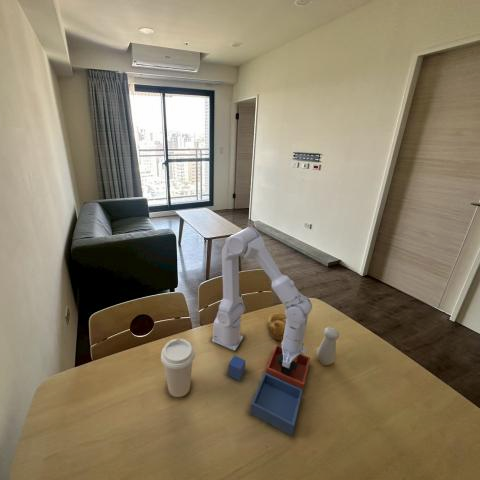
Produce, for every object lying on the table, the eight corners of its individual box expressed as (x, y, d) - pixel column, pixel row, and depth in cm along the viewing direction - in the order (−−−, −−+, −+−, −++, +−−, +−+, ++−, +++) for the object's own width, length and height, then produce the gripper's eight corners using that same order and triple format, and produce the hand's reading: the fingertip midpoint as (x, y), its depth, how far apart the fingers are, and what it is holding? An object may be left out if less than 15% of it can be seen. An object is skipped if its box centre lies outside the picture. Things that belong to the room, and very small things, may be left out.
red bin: (265, 377, 79) (266, 368, 78) (274, 352, 88) (276, 344, 87) (301, 394, 74) (304, 384, 73) (308, 366, 83) (310, 357, 82)
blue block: (227, 375, 80) (228, 363, 78) (233, 366, 83) (233, 355, 81) (239, 381, 78) (240, 369, 76) (244, 371, 81) (245, 360, 79)
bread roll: (263, 320, 104) (265, 304, 101) (286, 320, 104) (288, 304, 101) (271, 344, 92) (274, 327, 89) (297, 343, 92) (301, 326, 89)
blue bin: (250, 413, 69) (251, 403, 67) (263, 381, 78) (264, 372, 76) (292, 436, 64) (294, 426, 62) (300, 399, 73) (302, 389, 71)
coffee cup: (199, 378, 78) (199, 341, 73) (187, 407, 70) (186, 367, 64) (172, 369, 81) (170, 333, 76) (157, 396, 73) (153, 357, 67)
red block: (279, 372, 80) (281, 361, 78) (283, 363, 83) (285, 352, 82) (292, 378, 78) (294, 366, 76) (295, 368, 82) (297, 357, 80)
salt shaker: (330, 354, 88) (338, 325, 83) (336, 368, 82) (345, 337, 78) (313, 353, 88) (320, 323, 83) (318, 366, 83) (326, 336, 78)
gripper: (303, 356, 68) (296, 391, 73) (312, 324, 79) (305, 356, 84) (277, 346, 71) (272, 380, 76) (289, 316, 82) (284, 348, 88)
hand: (288, 367), depth 80 cm, fingers open, 6 cm apart
